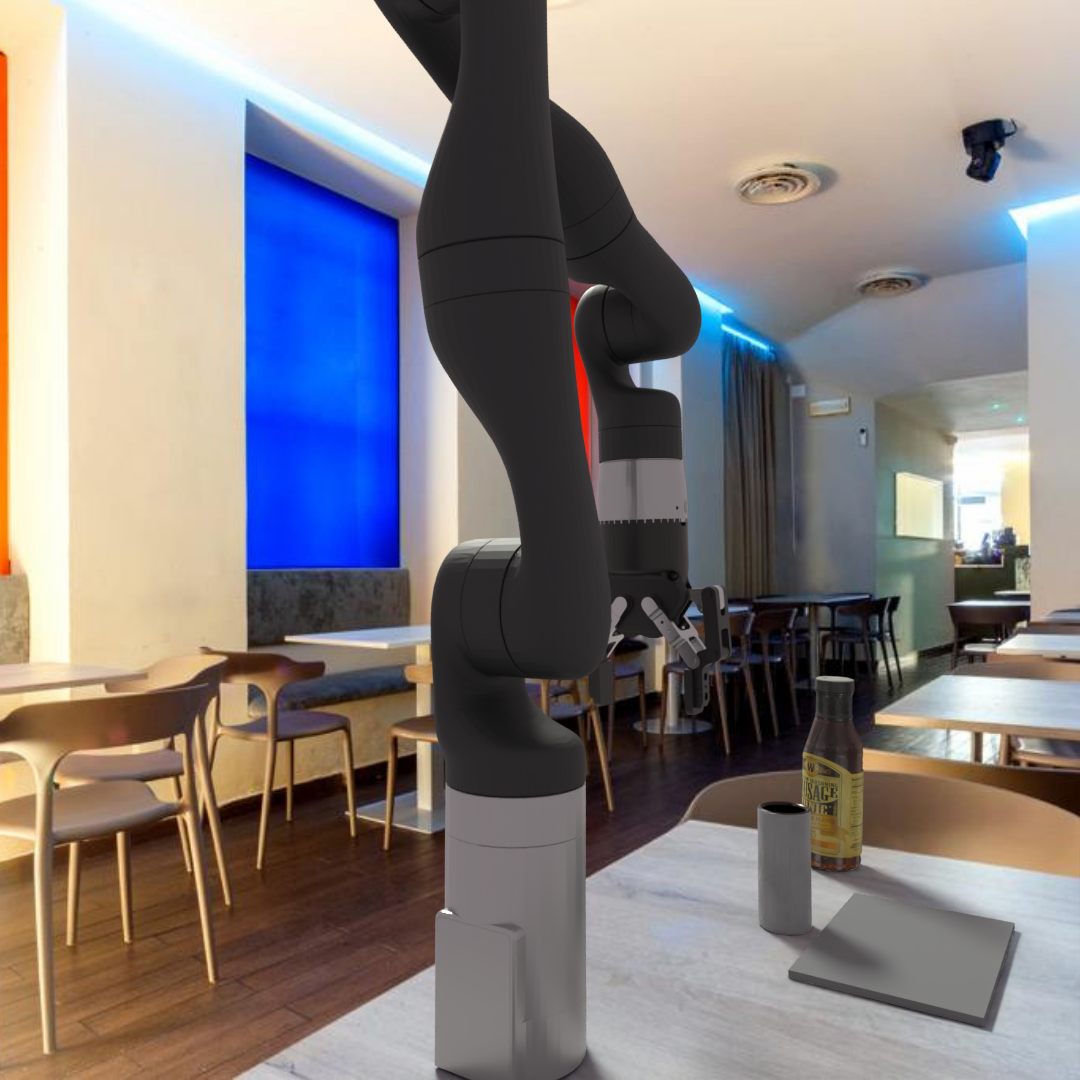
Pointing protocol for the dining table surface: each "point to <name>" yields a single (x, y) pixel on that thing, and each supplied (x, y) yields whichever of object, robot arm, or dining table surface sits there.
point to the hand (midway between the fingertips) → (647, 708)
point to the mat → (910, 957)
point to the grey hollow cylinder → (784, 867)
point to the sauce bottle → (834, 778)
